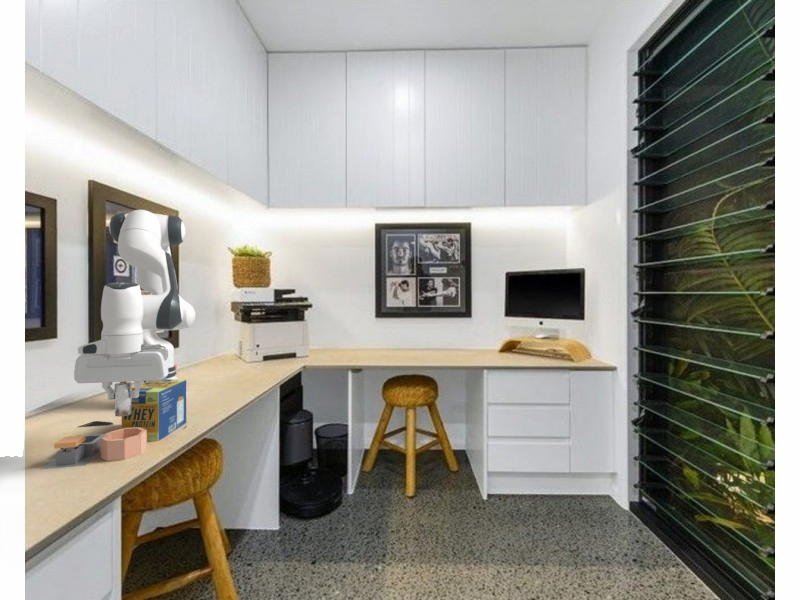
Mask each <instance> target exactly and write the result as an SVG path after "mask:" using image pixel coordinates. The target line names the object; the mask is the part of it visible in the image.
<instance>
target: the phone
mask: <svg viewBox="0 0 800 600" xmlns="http://www.w3.org/2000/svg"><path fill="white" fill-rule="evenodd" d="M105 426H106V427H107V426H114V422H112V421H101V420H94V421H91V422H88V423H84V424H82V425H79V426H78V428H90V427H91V428H92V427H105Z"/></svg>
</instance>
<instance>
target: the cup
mask: <svg viewBox="0 0 800 600" xmlns="http://www.w3.org/2000/svg"><path fill="white" fill-rule="evenodd" d="M104 434H105V435H104V436H102V437H101V438H100V445H101V453H100V458H101V459H103V460H104V461H106V462H113V461H114V462H115V461H125V460H127V459H131V458H133V457H137V456H140V455H142V454H143V453H144V452H145V451H146V450H147V449H148V446H147V445H148V444H147V443H148V441H147V430H146V429H143V428H140V427H134V428H122V427H121V428H119V429H116V430H112V431H108V432H106V433H104Z"/></svg>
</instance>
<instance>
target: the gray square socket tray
mask: <svg viewBox="0 0 800 600" xmlns="http://www.w3.org/2000/svg"><path fill="white" fill-rule="evenodd" d="M105 434H106V433H94V434H83V435H81V434H80V435H76V436H84V435H86V440H85V441H84V442H82V443H81V444H79V445H78V446H77V447H75V450H74V451H66V448H60V450H59V451H57V452H56V453H55V458H54V459H52V461H50V462H49V463H47V464H45V465H44V466H43V467H41V468H40V470H47V469H58V468H70V467H82V466H84V467H85V466H86V465H88V464H89V463H90V462H91V461H92V460H94V459H95V458H96V457H97V456H98V455H101V445H100V438H101V437H102V436H104V435H105Z"/></svg>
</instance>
